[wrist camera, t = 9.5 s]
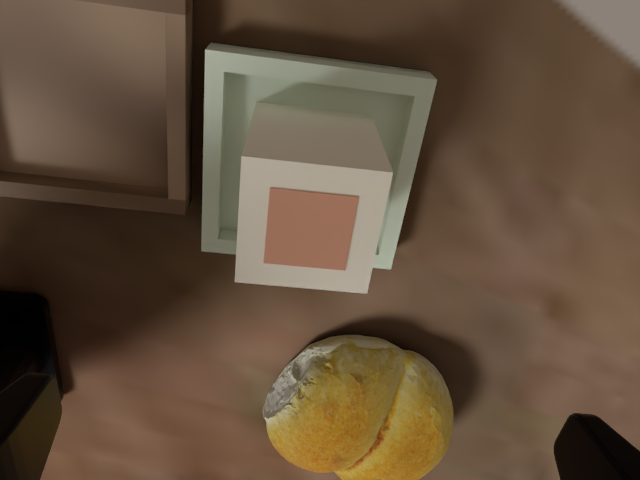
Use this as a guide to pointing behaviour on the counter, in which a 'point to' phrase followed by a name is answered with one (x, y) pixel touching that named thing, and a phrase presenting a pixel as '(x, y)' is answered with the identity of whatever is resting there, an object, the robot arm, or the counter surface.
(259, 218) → the letter block
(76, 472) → the counter surface
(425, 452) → the bread roll
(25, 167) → the walnut tray
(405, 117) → the green tray
